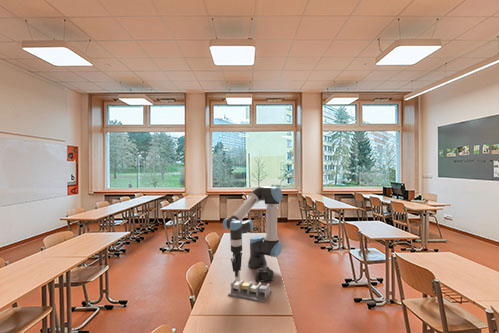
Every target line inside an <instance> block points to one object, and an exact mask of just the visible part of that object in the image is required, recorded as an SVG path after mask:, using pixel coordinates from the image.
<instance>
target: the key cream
mask: <svg viewBox="0 0 499 333" xmlns="http://www.w3.org/2000/svg"><path fill="white" fill-rule="evenodd" d="M239 283H240V282H239V281H236V282H235V283H234V284H233V288H235V289H239V285H238V284H239Z"/></svg>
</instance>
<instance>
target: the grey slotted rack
mask: <svg viewBox="0 0 499 333" xmlns="http://www.w3.org/2000/svg"><path fill="white" fill-rule="evenodd" d="M235 282H237V281H235V278H234V279H233V280H232V281H230V291H229V293H228V295H227V296H230V297H235V298H239V299H240V298H241V299H245V300H250V301H256V302H261V303H265V302H266V301H267V299H268V297H269V296H270V294H271V293H272V289H270V283H267V285H265V286H266V287H265V293H264V292H259V288H260V286H261V285H262V281H259V283H258V284H257V285H256V286H257V287H256V292H251V291H250V287H251V286H252V285H253V281H252V280H251V281H249V282H248V283H249V284H248V285H247V289H242V286H241V285H242V284H243V283H244V282H245V279H242V280H241V281H239V282H238V283H239V284H238V285H239V289H235V288H233V284H234V283H235Z"/></svg>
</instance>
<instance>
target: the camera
mask: <svg viewBox="0 0 499 333" xmlns="http://www.w3.org/2000/svg"><path fill="white" fill-rule="evenodd" d="M254 273H255V274H254V276H255V281H256V283H258V282H259V283H260V282H266V283H267V282H272V281H273V280H274V279H275V278H274V277H275V276H274V270H272V269H271V268H270V267H268V265H267V266H265V267H263V268H259V269H255V272H254Z"/></svg>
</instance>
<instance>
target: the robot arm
mask: <svg viewBox="0 0 499 333" xmlns="http://www.w3.org/2000/svg"><path fill="white" fill-rule="evenodd" d="M282 200H283V191H282V189H281V188H280V187H278V186H268V185H266V186H265V185H263V186H262V185H261V186H258V187H256V188H255V189H252V191H251V192H250V193H249V194H248V197H247V198H246V199H245V200H244V202H243V203H241V205H240V206H238V208H237V209H236V211H234V212H233V213H232V214H231V216H230V217H227V218H224V219H223V221H222V227H223V229H225V230H228V231H229V232H230V234H229V235H230V239H229V240H230V252H231V253H232V258H230V262H231V268H232V272H234V279H235V281H236V282H241V281H240V280H241V278H240V277H241V275H240V274H241V273H240V271H242V257H243V252H242V251H243V235H244V234H246V233H248V232H251V231H252V230H253V229H254V223H253V221H252V220H251V219H246V220H243V219H244V218H245V217H246V216H247V215H248V213H249V212H250V211H251V210H252V209H253V207H254V206H255V205H256V204H258V203H259V202H262V201H264V205H265V207H266V213H265V214H266V216H265V217H266V220H265V222H266V223H265V225H266V227H265V228H266V230H265V232H266V233H265V236H263V235H258V236H256V235H255V236H253V237H251V238H250V239H249V253H250V254H249V259H248V262H247V264H248V265H247V266H248V268H250V269H254V270H256V269H259V268H263V267H265V266H268V263H267V259H266V257H265V256H268V257H271V258H277V257H279V256H280V254H281V253H282V250H283V244H282V242H280V238H279V236H278V206H279V205H280V203H281V202H282Z"/></svg>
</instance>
